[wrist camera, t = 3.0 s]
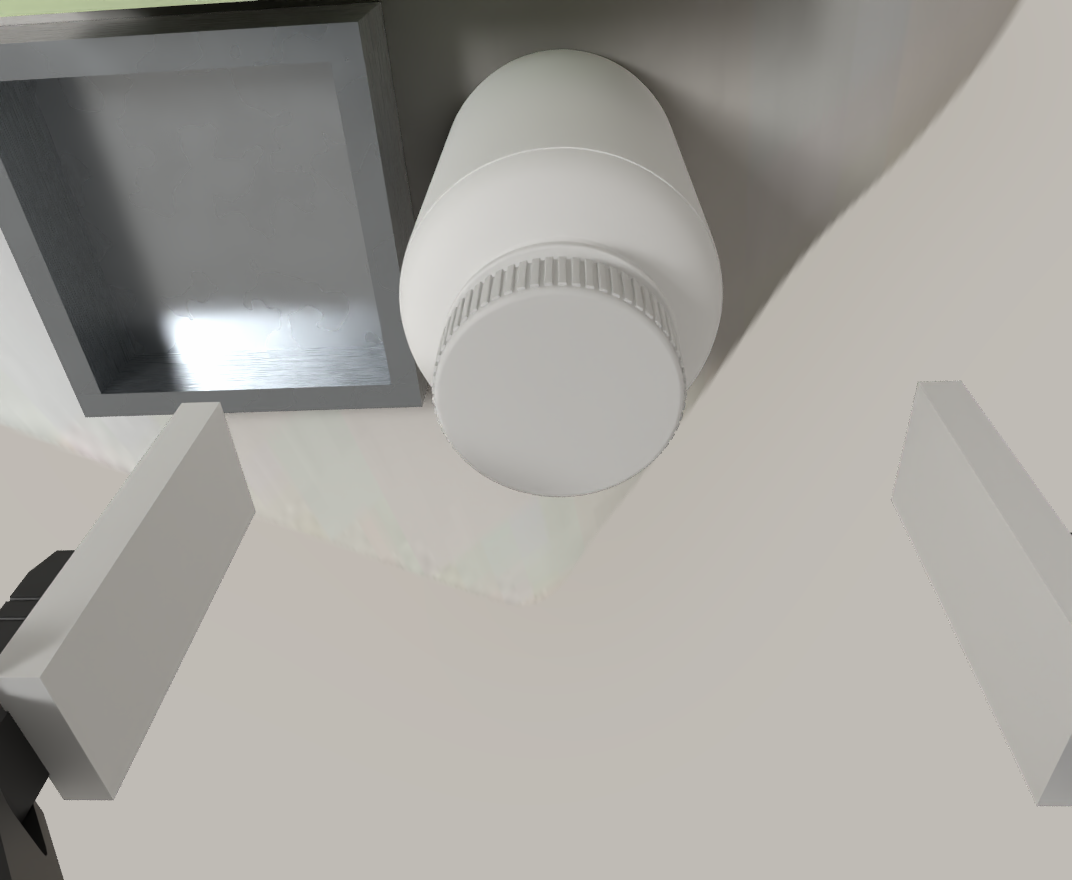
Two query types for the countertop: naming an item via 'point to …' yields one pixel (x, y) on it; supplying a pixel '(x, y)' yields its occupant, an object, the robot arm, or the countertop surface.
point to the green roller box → (87, 5)
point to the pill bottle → (560, 277)
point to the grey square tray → (212, 207)
